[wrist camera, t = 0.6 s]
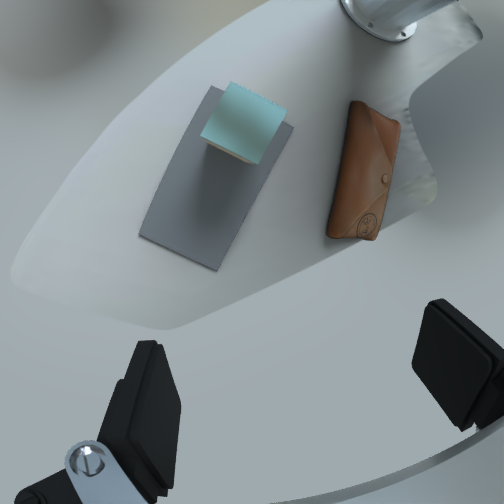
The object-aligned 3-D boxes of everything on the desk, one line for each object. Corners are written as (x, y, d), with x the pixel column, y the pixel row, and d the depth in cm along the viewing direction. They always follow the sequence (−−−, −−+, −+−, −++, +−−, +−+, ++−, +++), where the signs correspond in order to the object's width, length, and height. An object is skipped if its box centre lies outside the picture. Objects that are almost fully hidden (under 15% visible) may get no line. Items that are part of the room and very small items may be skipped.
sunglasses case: (378, 243, 39) (377, 253, 33) (331, 231, 42) (322, 238, 36) (401, 119, 34) (404, 106, 28) (353, 109, 37) (347, 95, 31)
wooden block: (227, 106, 31) (230, 81, 20) (265, 125, 33) (287, 110, 21) (207, 143, 33) (200, 135, 21) (245, 162, 34) (257, 164, 22)
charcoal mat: (211, 86, 31) (211, 85, 30) (292, 128, 33) (293, 127, 33) (139, 232, 36) (138, 233, 35) (217, 269, 38) (217, 270, 38)
